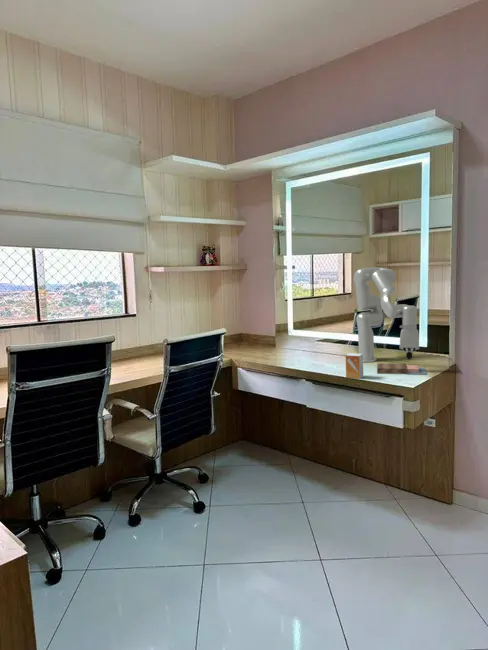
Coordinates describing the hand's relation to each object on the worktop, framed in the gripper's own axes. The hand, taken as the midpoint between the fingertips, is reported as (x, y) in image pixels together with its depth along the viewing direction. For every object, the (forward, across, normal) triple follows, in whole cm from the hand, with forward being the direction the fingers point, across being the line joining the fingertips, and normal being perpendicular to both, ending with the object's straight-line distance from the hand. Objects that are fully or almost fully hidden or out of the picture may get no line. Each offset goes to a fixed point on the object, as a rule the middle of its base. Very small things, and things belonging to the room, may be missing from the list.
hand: (409, 359), depth 249 cm
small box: (+8, -29, -16) cm, 34 cm away
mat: (+7, +4, -1) cm, 8 cm away
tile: (+6, +2, 0) cm, 6 cm away
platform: (+7, -9, -1) cm, 12 cm away
